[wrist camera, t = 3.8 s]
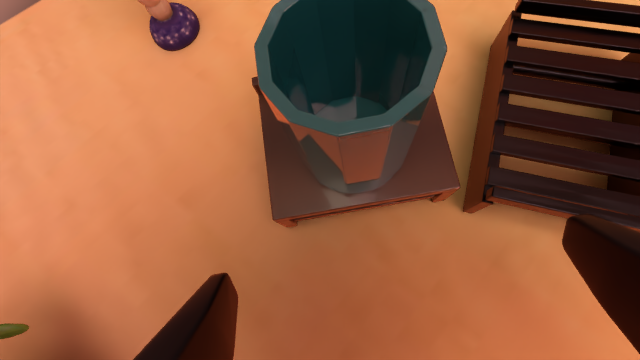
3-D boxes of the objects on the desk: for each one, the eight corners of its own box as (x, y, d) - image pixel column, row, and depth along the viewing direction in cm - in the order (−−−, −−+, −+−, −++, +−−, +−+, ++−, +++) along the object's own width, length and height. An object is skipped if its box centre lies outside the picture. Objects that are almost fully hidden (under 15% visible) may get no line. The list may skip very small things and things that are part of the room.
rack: (613, 246, 20) (694, 241, 15) (462, 211, 21) (492, 196, 17) (624, 65, 23) (696, 11, 18) (490, 46, 24) (522, -8, 19)
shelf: (444, 200, 22) (468, 182, 17) (286, 227, 23) (266, 217, 18) (413, 84, 24) (426, 40, 19) (272, 113, 25) (251, 77, 20)
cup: (429, 146, 19) (487, 48, 10) (346, 215, 18) (334, 173, 10) (358, 76, 21) (357, -59, 12) (280, 138, 20) (221, 44, 12)
